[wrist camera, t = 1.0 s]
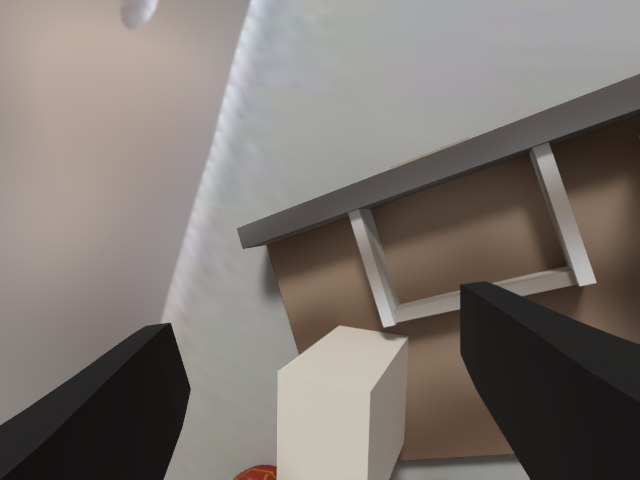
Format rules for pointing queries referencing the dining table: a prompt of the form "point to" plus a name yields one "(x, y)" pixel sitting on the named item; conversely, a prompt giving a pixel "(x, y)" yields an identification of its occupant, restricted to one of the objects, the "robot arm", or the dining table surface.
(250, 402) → the dining table surface
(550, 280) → the walnut shelf
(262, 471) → the canned food
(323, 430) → the cream carton
